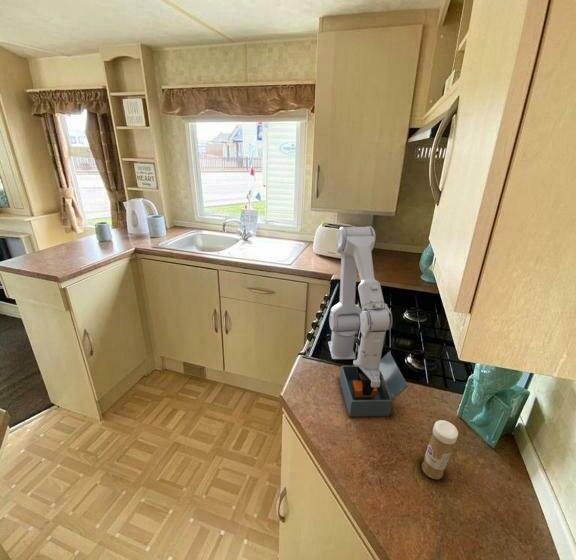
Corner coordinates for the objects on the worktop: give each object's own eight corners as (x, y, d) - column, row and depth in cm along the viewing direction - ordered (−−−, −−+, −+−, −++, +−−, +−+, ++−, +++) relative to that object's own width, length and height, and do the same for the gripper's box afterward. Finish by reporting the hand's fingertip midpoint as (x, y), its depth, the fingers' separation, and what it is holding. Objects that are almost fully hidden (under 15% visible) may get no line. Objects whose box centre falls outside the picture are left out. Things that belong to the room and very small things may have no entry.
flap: (389, 351, 92) (390, 352, 92) (376, 363, 93) (377, 363, 94) (407, 385, 79) (408, 386, 79) (392, 398, 81) (393, 399, 81)
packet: (354, 397, 87) (355, 390, 86) (351, 386, 90) (352, 380, 89) (376, 397, 87) (377, 390, 86) (371, 386, 91) (373, 380, 90)
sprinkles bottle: (417, 464, 71) (429, 422, 66) (433, 458, 73) (446, 416, 67) (431, 483, 68) (446, 440, 62) (448, 476, 69) (464, 434, 63)
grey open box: (339, 379, 96) (341, 365, 93) (374, 379, 96) (376, 365, 94) (349, 416, 83) (351, 401, 81) (389, 415, 84) (392, 400, 81)
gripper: (349, 333, 89) (344, 370, 95) (363, 367, 76) (356, 408, 81) (374, 333, 89) (367, 370, 95) (391, 367, 76) (383, 408, 82)
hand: (364, 388), depth 88 cm, fingers closed on packet, 4 cm apart
